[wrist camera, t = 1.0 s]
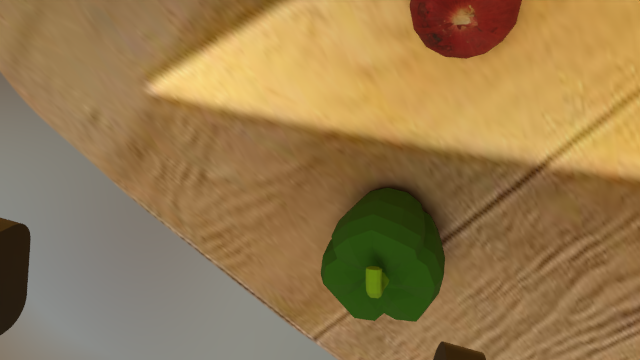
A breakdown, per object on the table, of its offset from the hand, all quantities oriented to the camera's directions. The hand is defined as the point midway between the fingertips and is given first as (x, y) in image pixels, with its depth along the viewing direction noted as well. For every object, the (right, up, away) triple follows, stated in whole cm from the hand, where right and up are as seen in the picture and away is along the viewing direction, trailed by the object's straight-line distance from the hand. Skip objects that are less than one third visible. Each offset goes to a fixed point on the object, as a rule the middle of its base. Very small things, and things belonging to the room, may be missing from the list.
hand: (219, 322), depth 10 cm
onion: (+11, +14, +23) cm, 29 cm away
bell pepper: (+8, 0, +32) cm, 33 cm away
